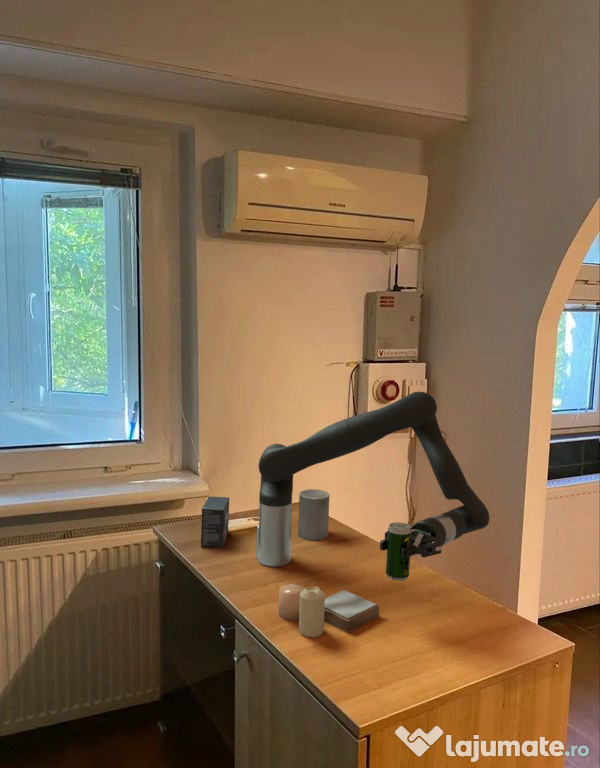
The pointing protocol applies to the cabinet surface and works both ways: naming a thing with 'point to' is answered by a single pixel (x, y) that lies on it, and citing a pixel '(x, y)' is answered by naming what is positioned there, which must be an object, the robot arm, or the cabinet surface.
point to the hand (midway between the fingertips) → (392, 549)
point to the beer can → (397, 551)
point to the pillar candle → (313, 514)
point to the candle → (311, 612)
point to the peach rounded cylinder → (289, 601)
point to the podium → (349, 610)
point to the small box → (215, 522)
